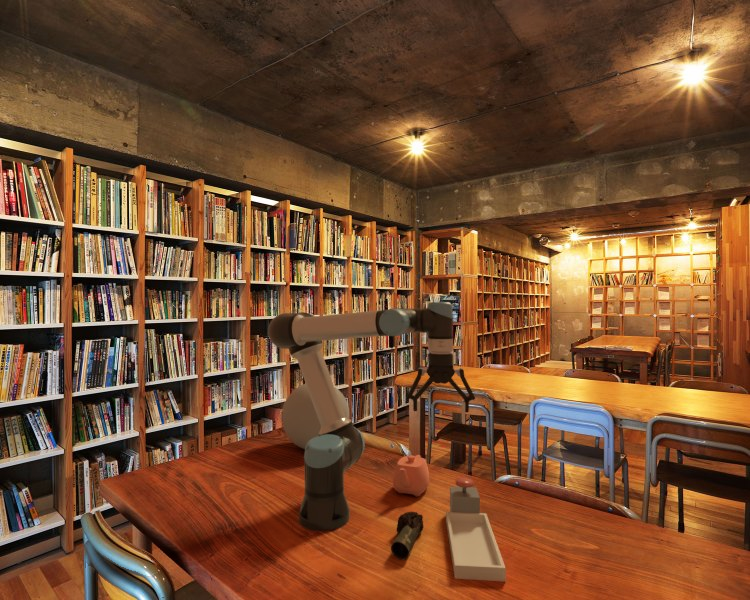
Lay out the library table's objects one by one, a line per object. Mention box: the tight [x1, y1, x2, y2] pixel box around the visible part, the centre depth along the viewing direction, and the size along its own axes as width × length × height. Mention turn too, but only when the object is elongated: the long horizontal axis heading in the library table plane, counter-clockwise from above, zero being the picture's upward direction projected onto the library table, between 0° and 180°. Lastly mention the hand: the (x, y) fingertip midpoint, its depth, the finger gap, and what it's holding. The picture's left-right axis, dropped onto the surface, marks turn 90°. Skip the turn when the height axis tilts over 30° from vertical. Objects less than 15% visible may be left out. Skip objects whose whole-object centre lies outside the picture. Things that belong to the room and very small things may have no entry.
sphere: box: [281, 383, 350, 450], centre depth 189 cm, size 30×30×30 cm
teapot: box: [392, 454, 430, 497], centre depth 145 cm, size 20×12×12 cm, turn 158°
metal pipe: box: [390, 511, 424, 561], centre depth 113 cm, size 18×7×6 cm, turn 159°
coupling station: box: [445, 477, 507, 582], centre depth 114 cm, size 12×33×11 cm, turn 175°
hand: (440, 422), depth 128 cm, fingers open, 13 cm apart
